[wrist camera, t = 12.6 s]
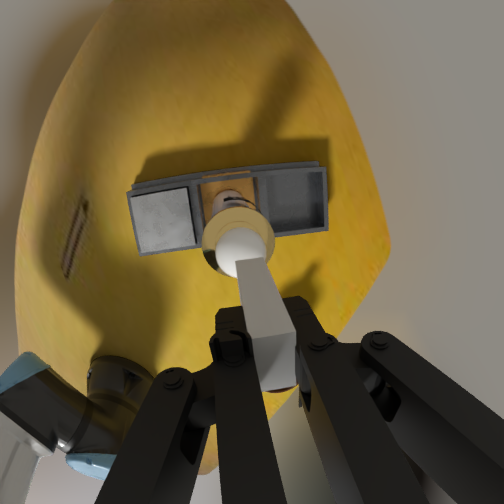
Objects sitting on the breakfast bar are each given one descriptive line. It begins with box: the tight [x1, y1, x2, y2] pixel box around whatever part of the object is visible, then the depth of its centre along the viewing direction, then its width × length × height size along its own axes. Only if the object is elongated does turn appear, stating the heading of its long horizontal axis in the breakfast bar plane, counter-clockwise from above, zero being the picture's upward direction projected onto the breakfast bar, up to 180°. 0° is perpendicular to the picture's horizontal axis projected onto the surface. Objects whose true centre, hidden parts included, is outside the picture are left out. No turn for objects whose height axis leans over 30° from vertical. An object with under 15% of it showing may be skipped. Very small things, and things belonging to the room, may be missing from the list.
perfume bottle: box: [202, 190, 275, 278], centre depth 27 cm, size 6×6×20 cm
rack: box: [126, 161, 328, 256], centre depth 35 cm, size 26×10×5 cm, turn 95°
